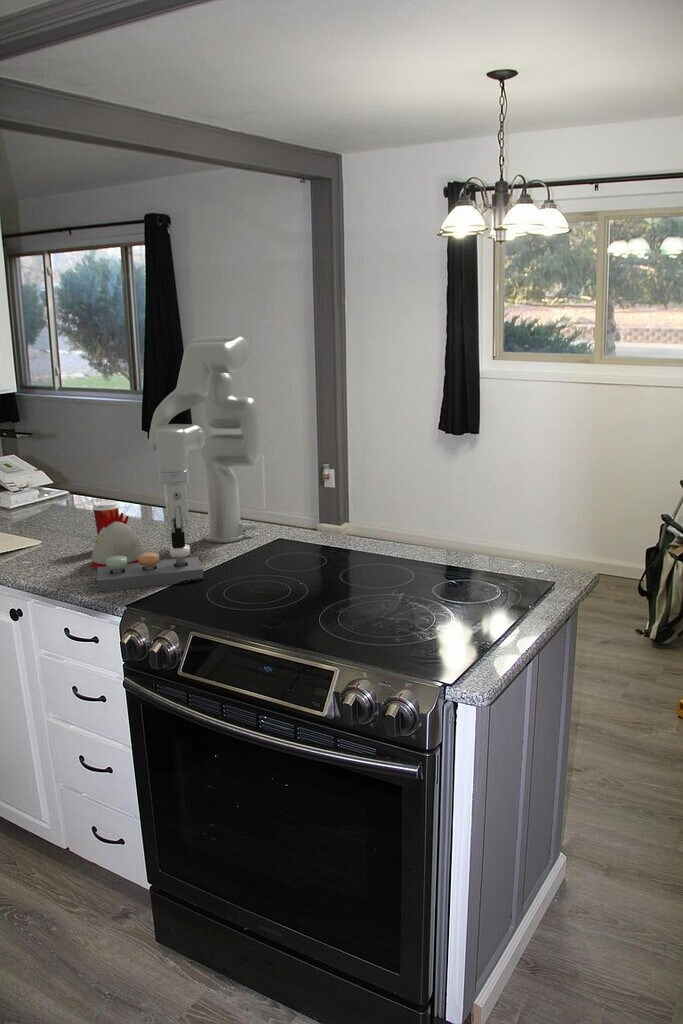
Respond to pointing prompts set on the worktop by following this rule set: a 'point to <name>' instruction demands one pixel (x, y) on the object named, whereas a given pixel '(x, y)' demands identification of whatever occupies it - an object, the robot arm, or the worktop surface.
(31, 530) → the worktop surface
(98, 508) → the paper cup
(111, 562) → the button sage
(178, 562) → the button ivory
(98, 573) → the console
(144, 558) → the button terracotta
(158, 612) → the worktop surface
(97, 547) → the white rounded crested piece
